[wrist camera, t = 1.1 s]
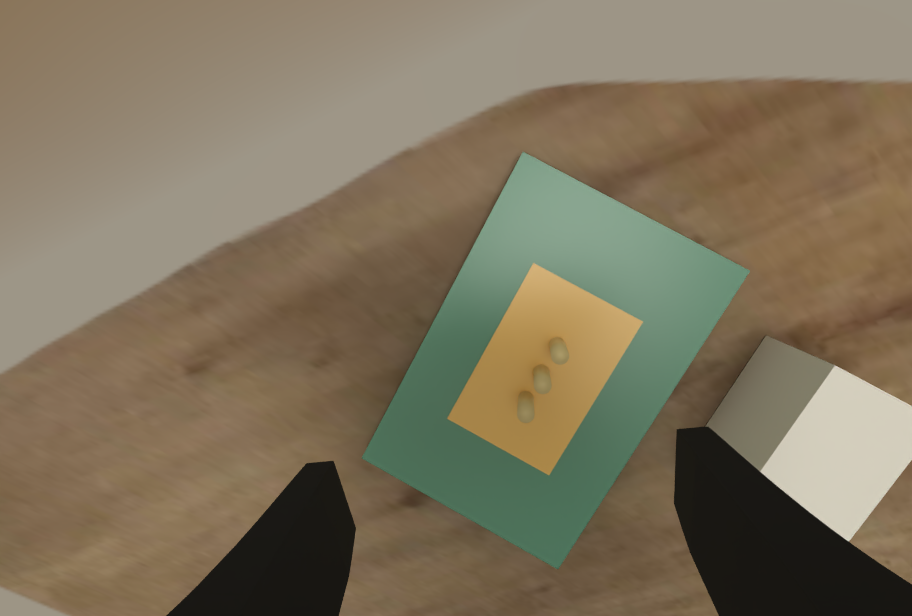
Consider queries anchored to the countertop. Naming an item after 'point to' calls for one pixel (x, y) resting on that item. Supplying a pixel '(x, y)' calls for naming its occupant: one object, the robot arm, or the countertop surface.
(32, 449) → the countertop surface
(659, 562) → the countertop surface
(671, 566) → the countertop surface
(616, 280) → the header board
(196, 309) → the countertop surface
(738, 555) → the robot arm
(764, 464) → the block
